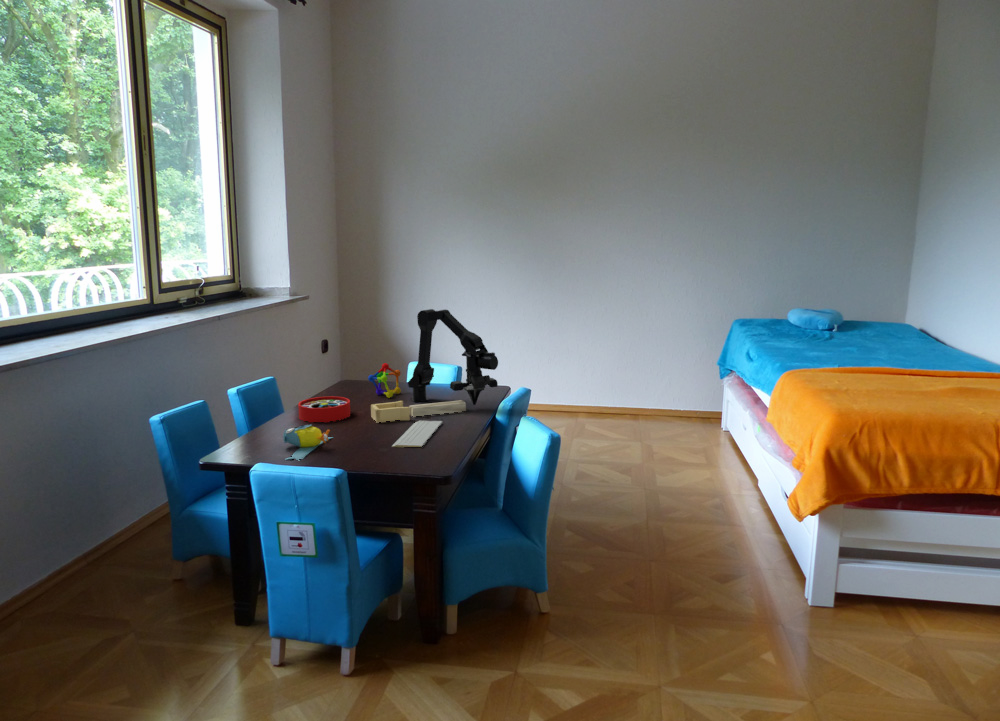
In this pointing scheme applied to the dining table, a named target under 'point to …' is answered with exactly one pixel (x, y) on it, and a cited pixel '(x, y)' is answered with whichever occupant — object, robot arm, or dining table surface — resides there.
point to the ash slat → (437, 408)
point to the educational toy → (383, 378)
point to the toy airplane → (304, 439)
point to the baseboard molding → (417, 434)
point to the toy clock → (324, 409)
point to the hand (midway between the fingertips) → (474, 404)
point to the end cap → (390, 412)
